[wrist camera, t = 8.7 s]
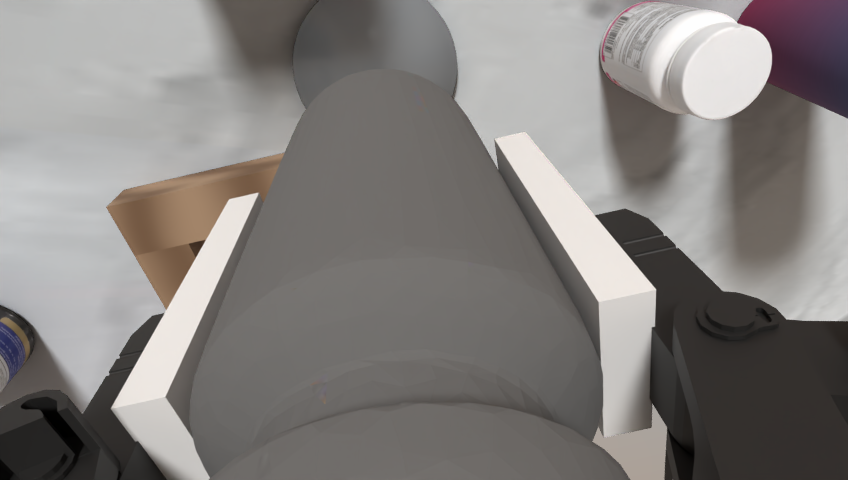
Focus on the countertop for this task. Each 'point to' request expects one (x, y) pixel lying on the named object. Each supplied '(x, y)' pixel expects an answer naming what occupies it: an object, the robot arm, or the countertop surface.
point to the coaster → (372, 43)
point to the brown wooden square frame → (183, 217)
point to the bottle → (395, 313)
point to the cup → (806, 47)
